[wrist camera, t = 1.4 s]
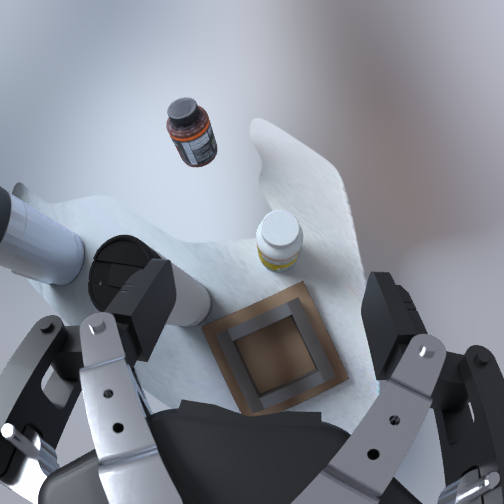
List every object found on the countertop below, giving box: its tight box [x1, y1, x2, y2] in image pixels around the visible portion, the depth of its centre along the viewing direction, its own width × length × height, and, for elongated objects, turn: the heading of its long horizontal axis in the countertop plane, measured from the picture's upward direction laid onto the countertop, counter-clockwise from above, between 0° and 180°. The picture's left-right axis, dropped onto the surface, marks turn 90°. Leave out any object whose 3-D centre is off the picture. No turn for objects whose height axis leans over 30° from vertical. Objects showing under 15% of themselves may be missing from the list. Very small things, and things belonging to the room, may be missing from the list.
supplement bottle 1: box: [167, 98, 217, 167], centre depth 39 cm, size 6×6×11 cm
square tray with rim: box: [202, 281, 349, 416], centre depth 33 cm, size 14×14×4 cm
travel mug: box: [88, 235, 211, 327], centre depth 28 cm, size 6×7×20 cm
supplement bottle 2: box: [256, 210, 303, 272], centre depth 34 cm, size 5×5×10 cm
